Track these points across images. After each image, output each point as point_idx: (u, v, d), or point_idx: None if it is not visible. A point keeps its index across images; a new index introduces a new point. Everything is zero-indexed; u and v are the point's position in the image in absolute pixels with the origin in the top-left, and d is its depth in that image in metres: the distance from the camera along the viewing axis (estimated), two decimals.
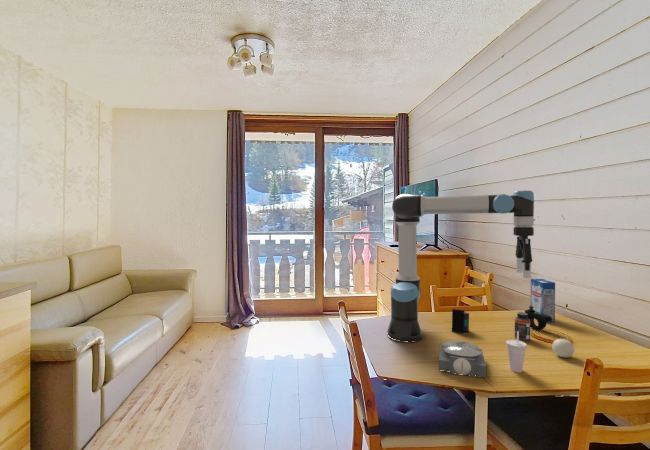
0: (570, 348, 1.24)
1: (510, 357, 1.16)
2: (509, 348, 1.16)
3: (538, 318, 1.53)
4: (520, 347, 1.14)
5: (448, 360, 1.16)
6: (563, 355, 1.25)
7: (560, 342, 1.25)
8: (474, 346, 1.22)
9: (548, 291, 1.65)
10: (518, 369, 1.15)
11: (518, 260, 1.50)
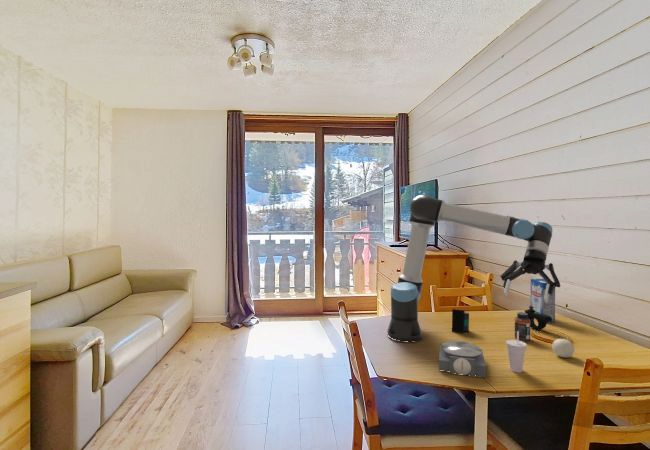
0: (570, 348, 1.24)
1: (510, 357, 1.16)
2: (509, 348, 1.16)
3: (538, 318, 1.53)
4: (520, 347, 1.14)
5: (448, 360, 1.16)
6: (563, 355, 1.25)
7: (560, 342, 1.25)
8: (474, 346, 1.22)
9: None
10: (518, 369, 1.15)
11: (509, 282, 1.33)
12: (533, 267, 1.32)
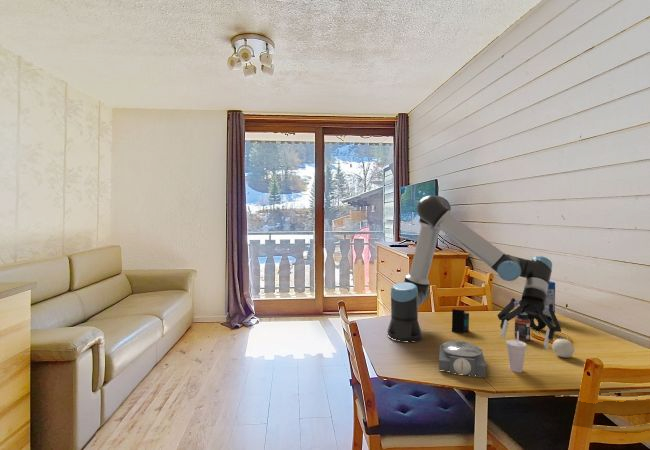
0: (570, 348, 1.24)
1: (510, 357, 1.16)
2: (509, 348, 1.16)
3: (538, 318, 1.53)
4: (520, 347, 1.14)
5: (448, 360, 1.16)
6: (563, 355, 1.25)
7: (560, 342, 1.25)
8: (474, 346, 1.22)
9: (548, 291, 1.65)
10: (518, 369, 1.15)
11: (506, 323, 1.25)
12: (532, 307, 1.23)
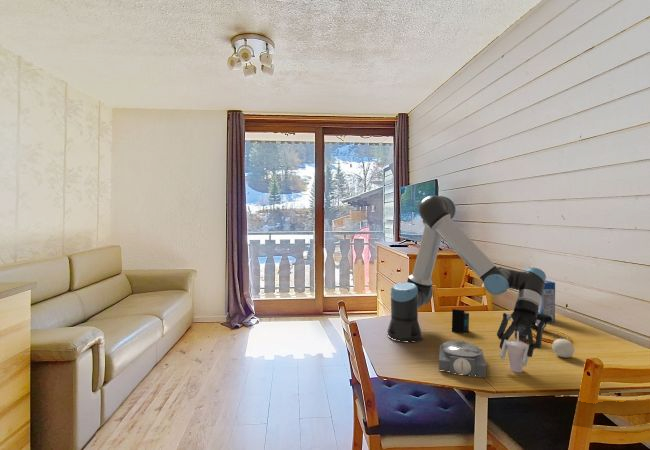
0: (570, 348, 1.24)
1: (510, 357, 1.16)
2: (509, 348, 1.16)
3: (538, 318, 1.53)
4: (520, 347, 1.14)
5: (448, 360, 1.16)
6: (563, 355, 1.25)
7: (560, 342, 1.25)
8: (474, 346, 1.22)
9: (548, 291, 1.65)
10: (518, 369, 1.15)
11: None
12: (524, 320, 1.20)
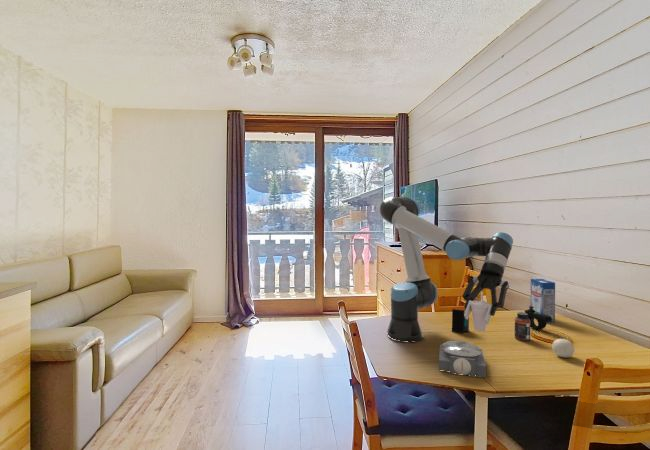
0: (570, 348, 1.24)
1: (474, 316, 1.18)
2: (473, 308, 1.18)
3: (538, 318, 1.53)
4: (483, 306, 1.15)
5: (448, 360, 1.16)
6: (563, 355, 1.25)
7: (560, 342, 1.25)
8: (474, 346, 1.22)
9: (548, 291, 1.65)
10: (481, 328, 1.17)
11: None
12: (489, 282, 1.22)
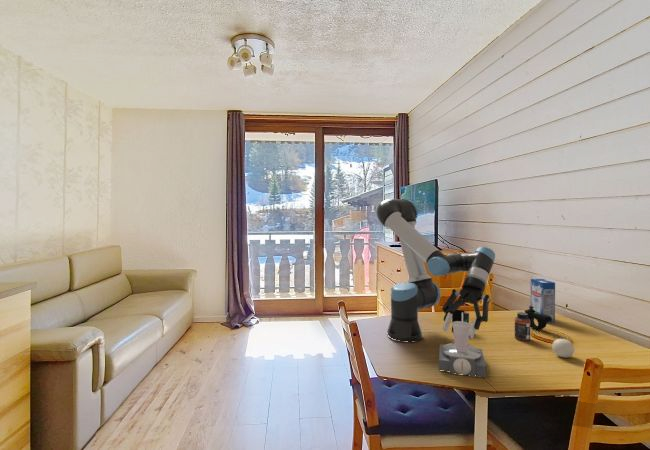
0: (570, 348, 1.24)
1: (455, 337, 1.20)
2: (454, 329, 1.20)
3: (538, 318, 1.53)
4: (463, 327, 1.18)
5: (448, 360, 1.16)
6: (563, 355, 1.25)
7: (560, 342, 1.25)
8: (474, 349, 1.22)
9: (548, 291, 1.65)
10: (462, 349, 1.19)
11: (449, 316, 1.24)
12: (470, 296, 1.24)
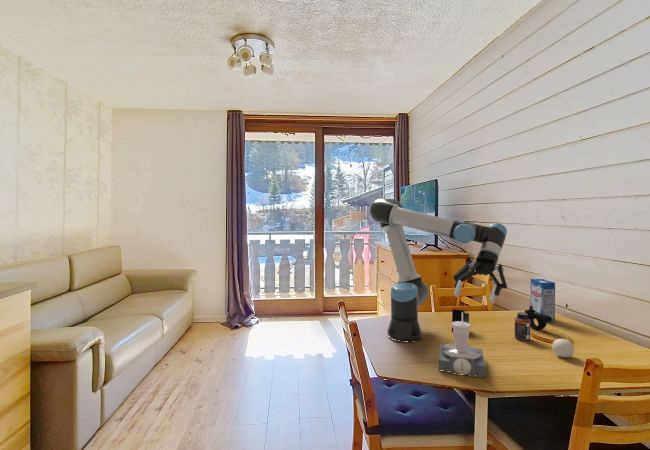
0: (570, 348, 1.24)
1: (455, 337, 1.20)
2: (454, 329, 1.20)
3: (538, 318, 1.53)
4: (463, 327, 1.18)
5: (448, 360, 1.16)
6: (563, 355, 1.25)
7: (560, 342, 1.25)
8: (474, 349, 1.22)
9: (548, 291, 1.65)
10: (462, 349, 1.19)
11: (460, 283, 1.34)
12: (484, 268, 1.32)
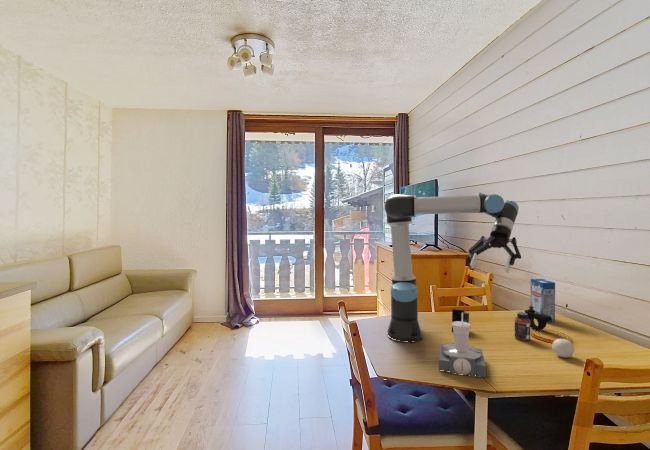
0: (570, 348, 1.24)
1: (455, 337, 1.20)
2: (454, 329, 1.20)
3: (538, 318, 1.53)
4: (463, 327, 1.18)
5: (448, 360, 1.16)
6: (563, 355, 1.25)
7: (560, 342, 1.25)
8: (474, 349, 1.22)
9: (548, 291, 1.65)
10: (462, 349, 1.19)
11: (475, 255, 1.42)
12: (498, 241, 1.40)
